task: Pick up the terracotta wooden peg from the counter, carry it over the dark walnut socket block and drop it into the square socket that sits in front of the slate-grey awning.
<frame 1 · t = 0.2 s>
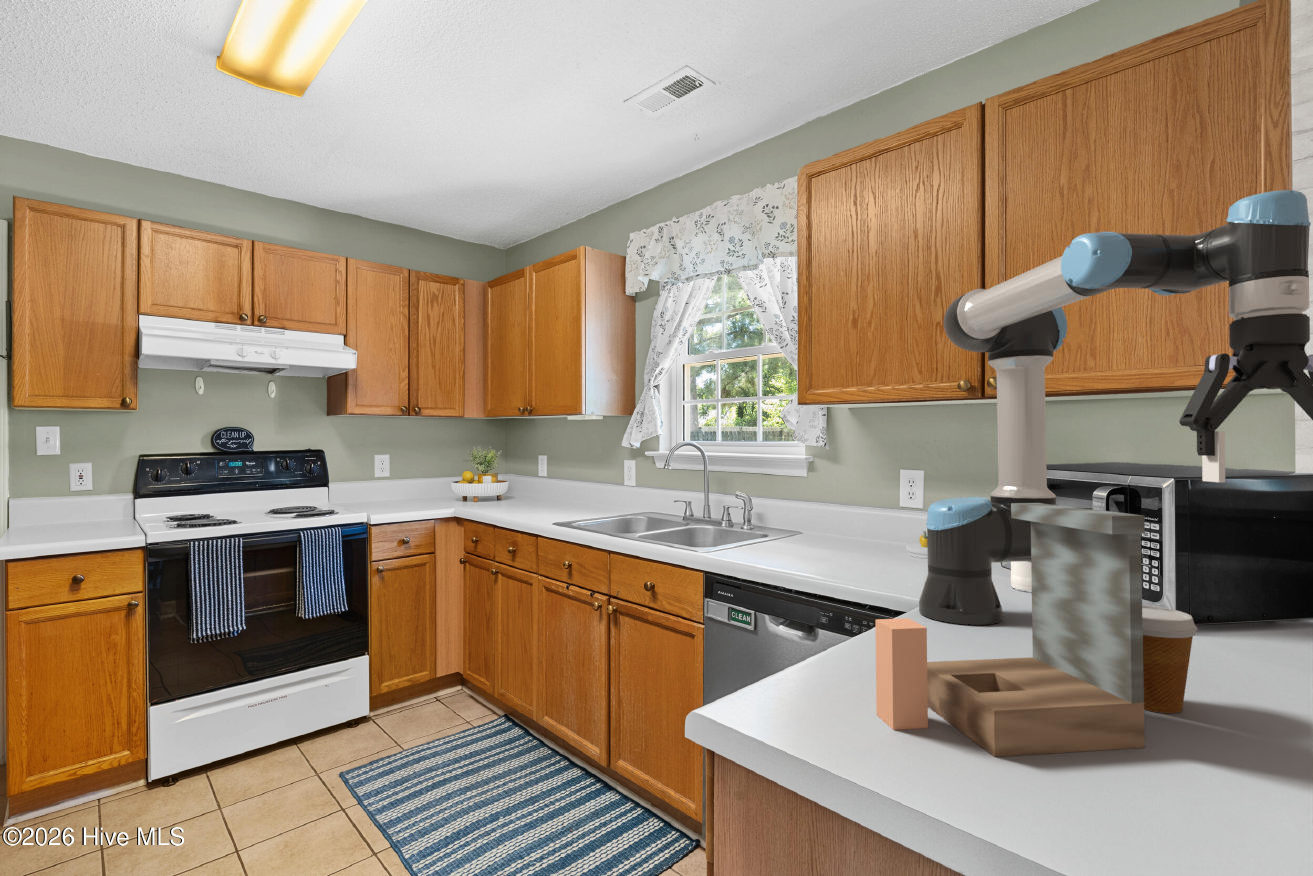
hand: (1269, 482, 83), 29 cm above the counter, tool pointing down, fingers open, 13 cm apart
disposable coffee cup: (1151, 705, 84), on the counter
socket stand: (1021, 721, 79), on the counter
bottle: (1029, 590, 153), on the counter
peg: (901, 721, 80), on the counter
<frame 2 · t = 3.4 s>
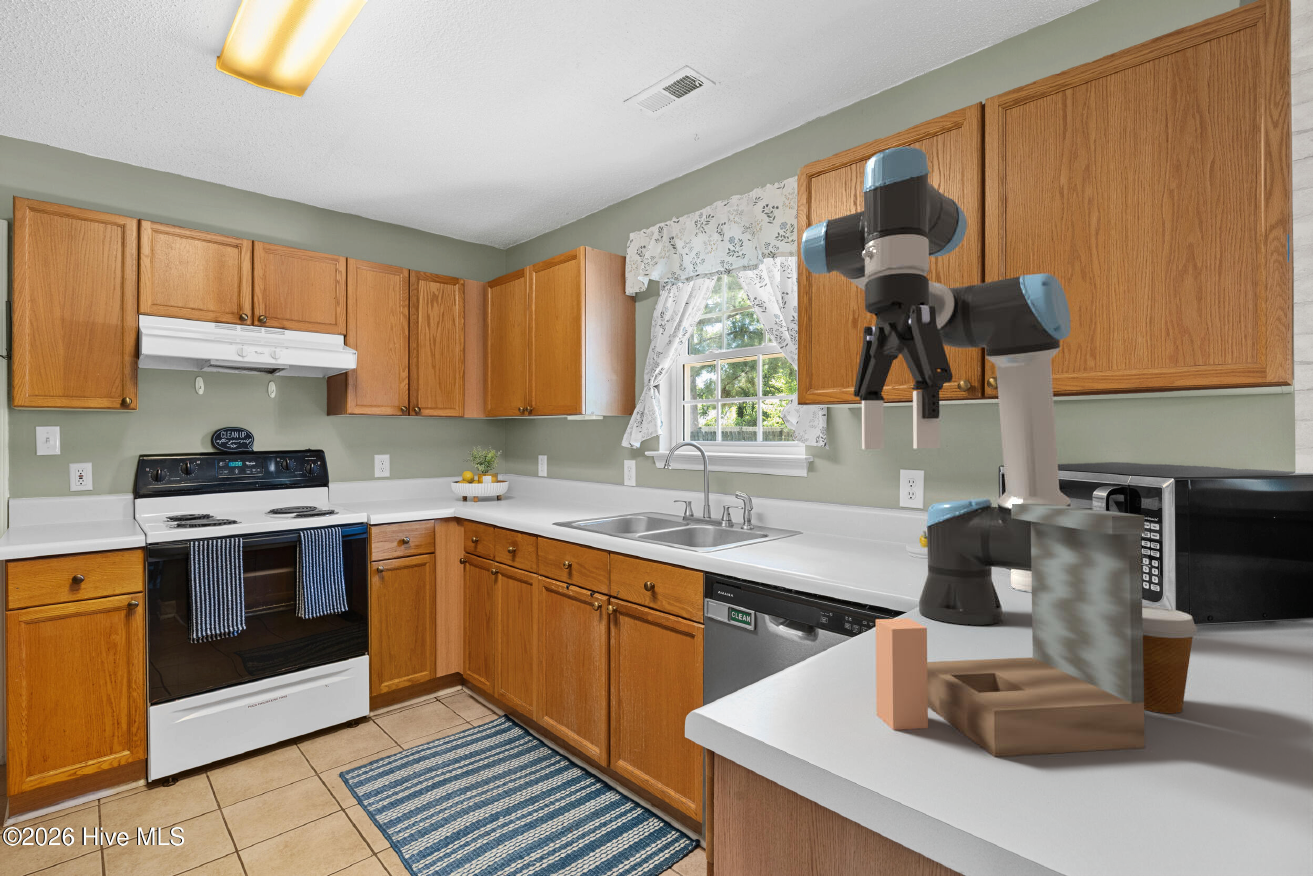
hand: (897, 449, 80), 34 cm above the counter, tool pointing down, fingers open, 13 cm apart
nothing on the counter moved.
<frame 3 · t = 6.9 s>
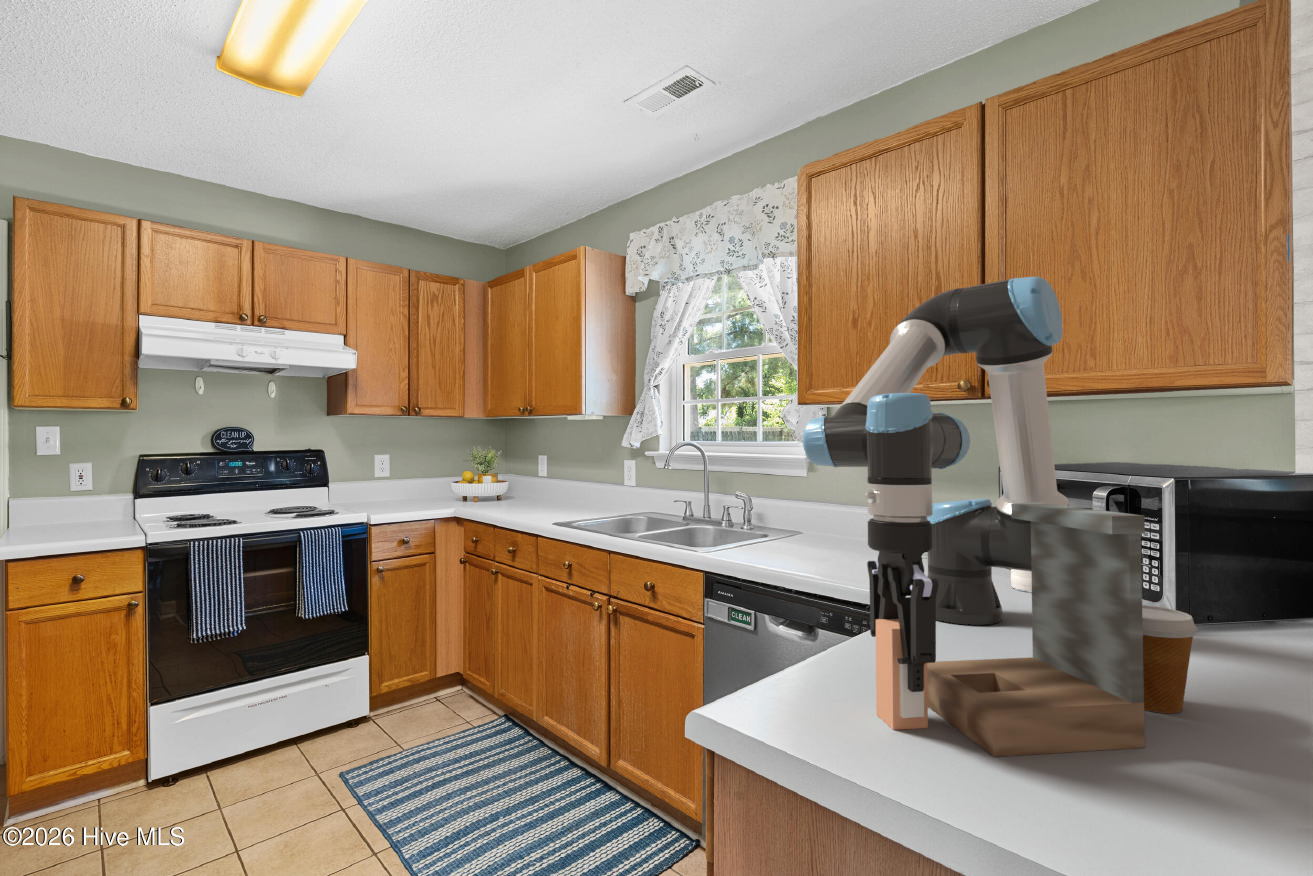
hand: (901, 707, 80), 2 cm above the counter, tool pointing down, fingers closed on peg, 4 cm apart
peg: (901, 721, 80), on the counter, touching gripper
everything else where it was.
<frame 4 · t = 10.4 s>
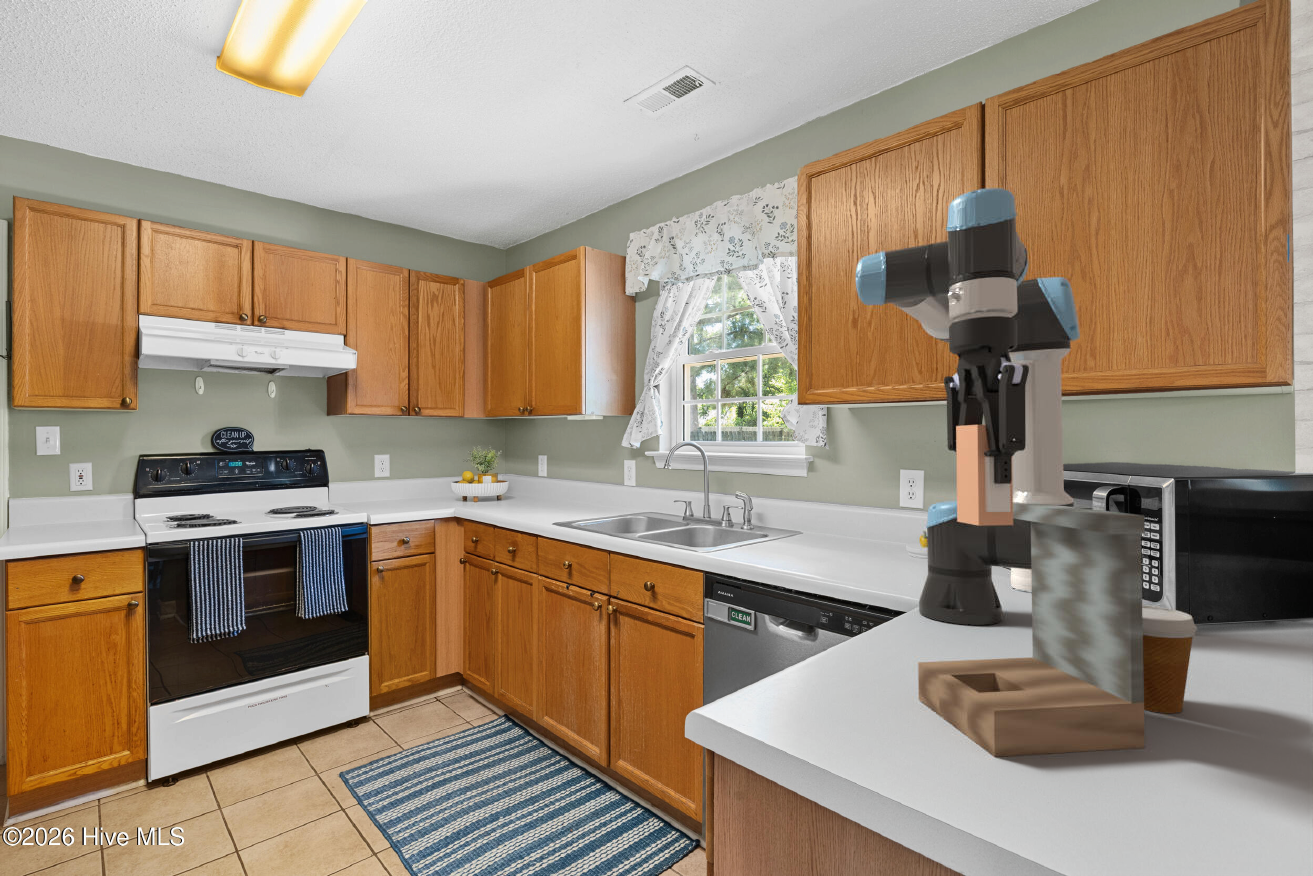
hand: (984, 509, 79), 26 cm above the counter, tool pointing down, fingers closed on peg, 4 cm apart
peg: (984, 523, 79), point 24 cm above the counter, touching gripper
everything else where it was.
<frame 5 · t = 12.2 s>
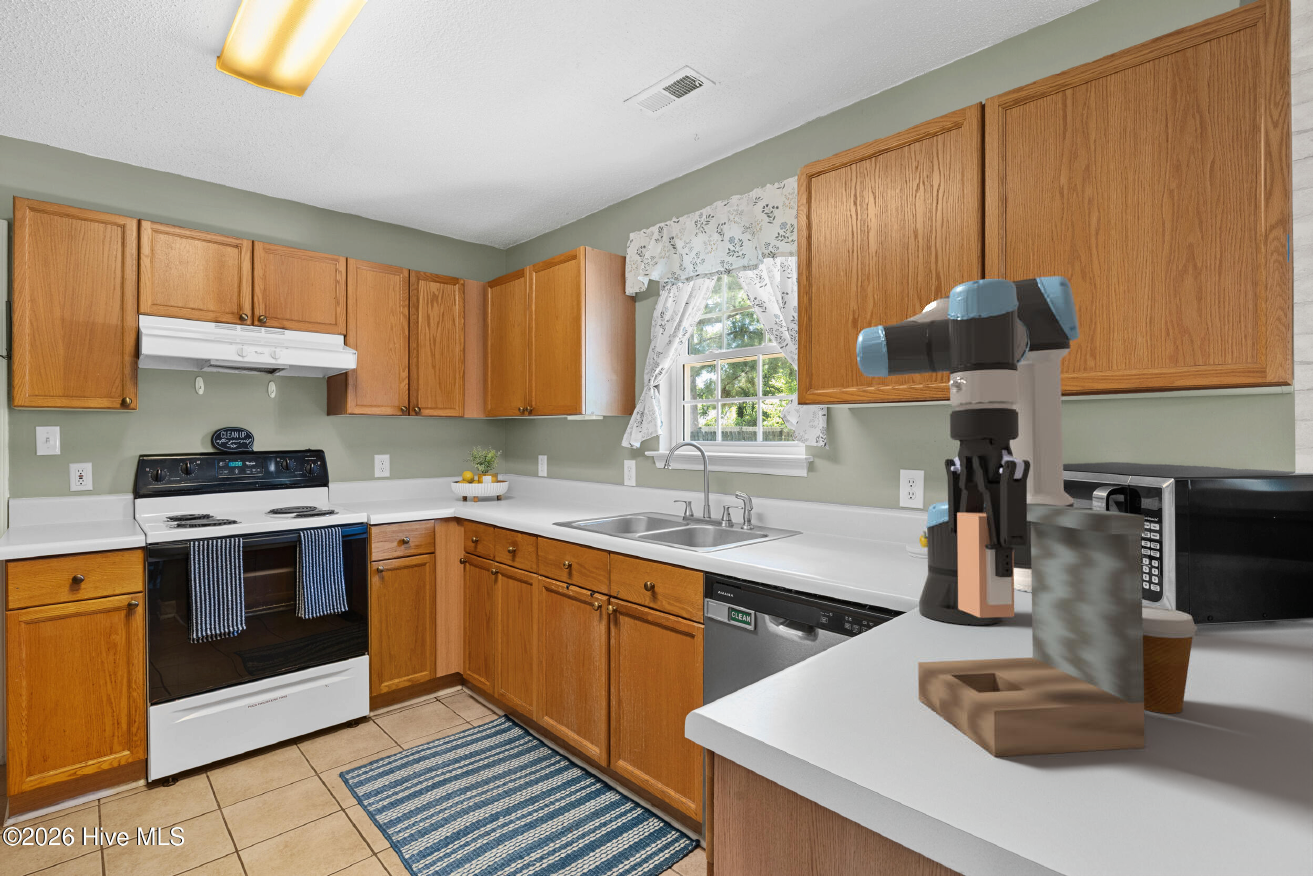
hand: (985, 598, 79), 15 cm above the counter, tool pointing down, fingers closed on peg, 4 cm apart
peg: (985, 612, 79), point 14 cm above the counter, touching gripper
everything else where it was.
when the fingers open (8 cm above the counter, at t = 13.9 s): peg drops 6 cm, resting in socket stand.
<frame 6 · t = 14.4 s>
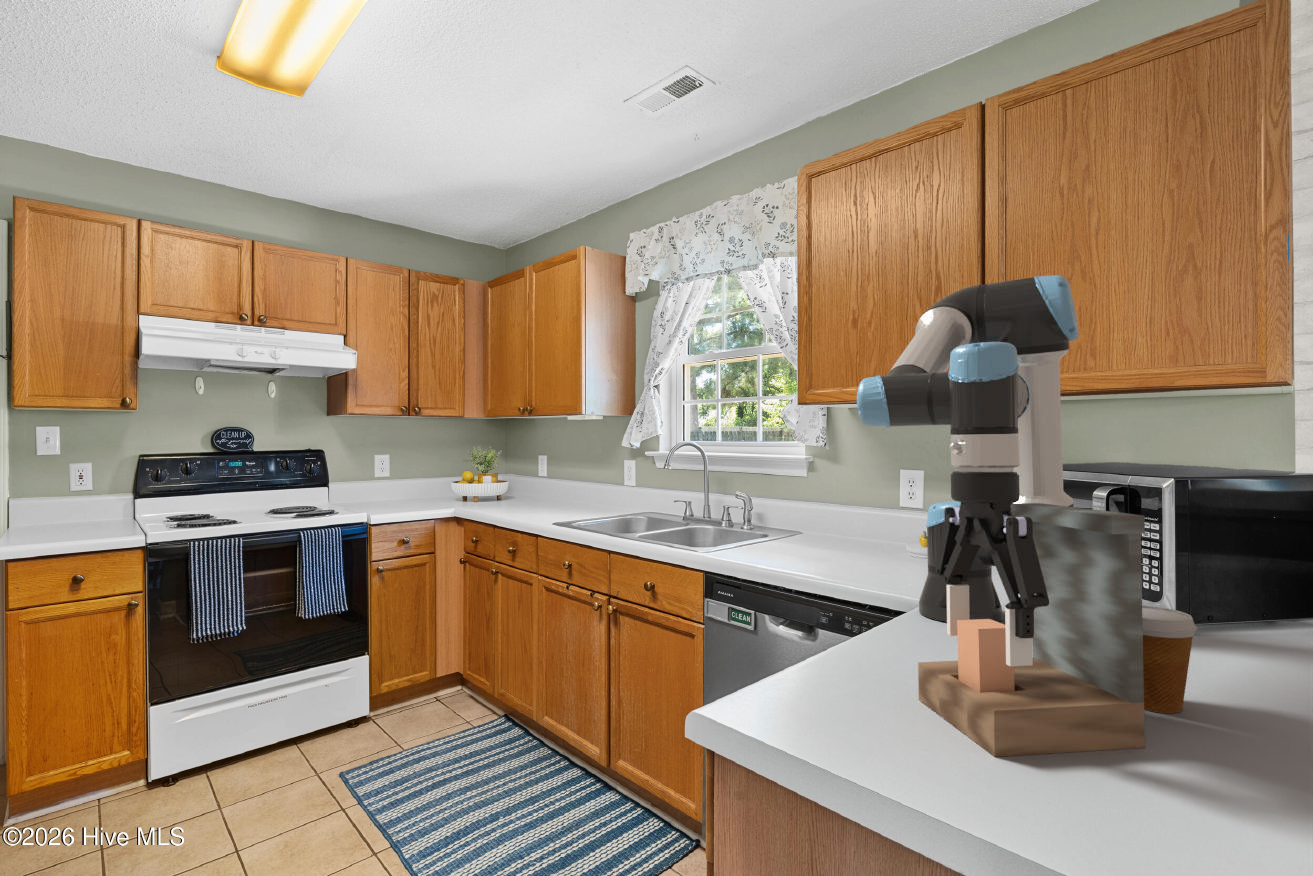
hand: (986, 648, 79), 9 cm above the counter, tool pointing down, fingers open, 11 cm apart
peg: (986, 723, 79), resting in socket stand
everything else where it was.
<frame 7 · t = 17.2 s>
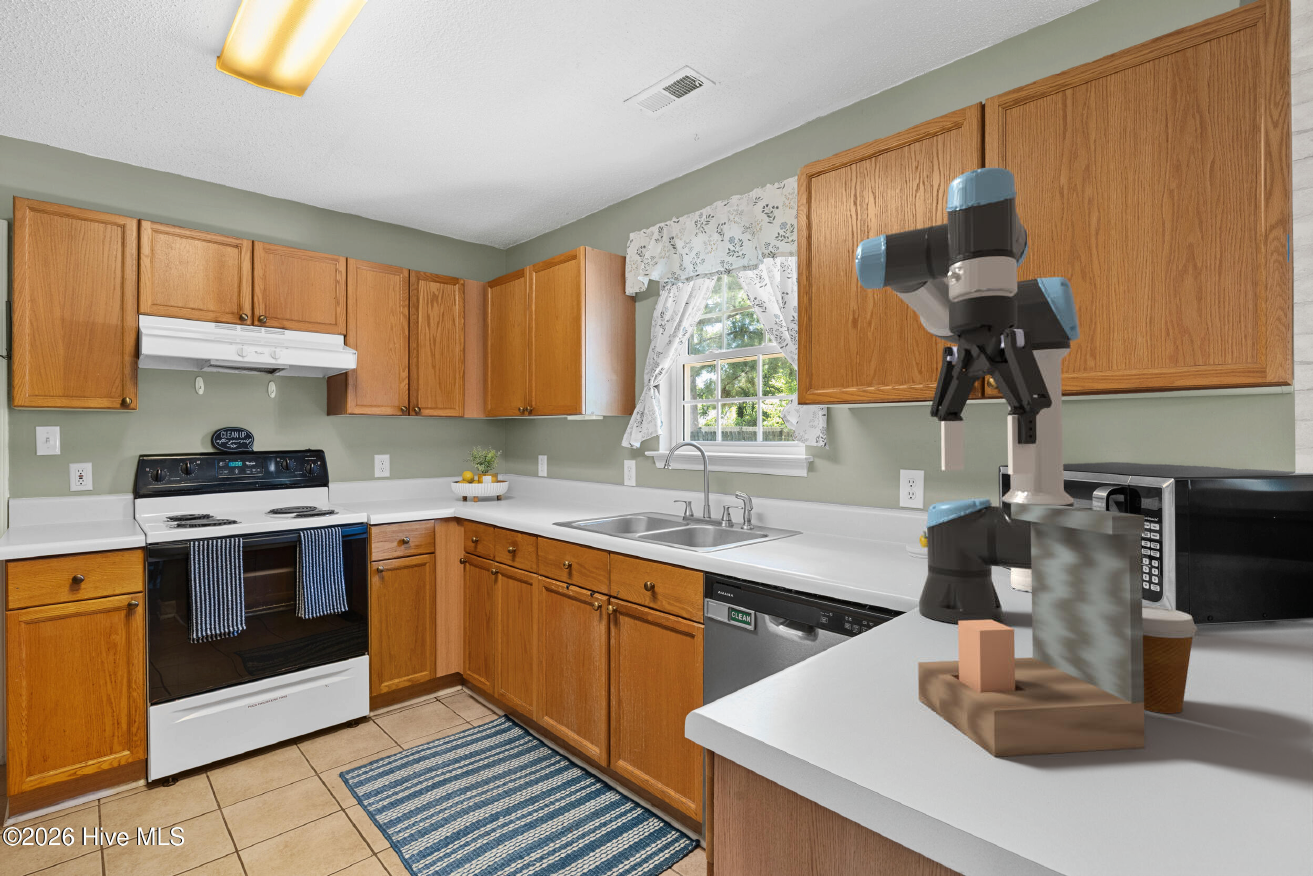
hand: (984, 472, 79), 31 cm above the counter, tool pointing down, fingers open, 13 cm apart
nothing on the counter moved.
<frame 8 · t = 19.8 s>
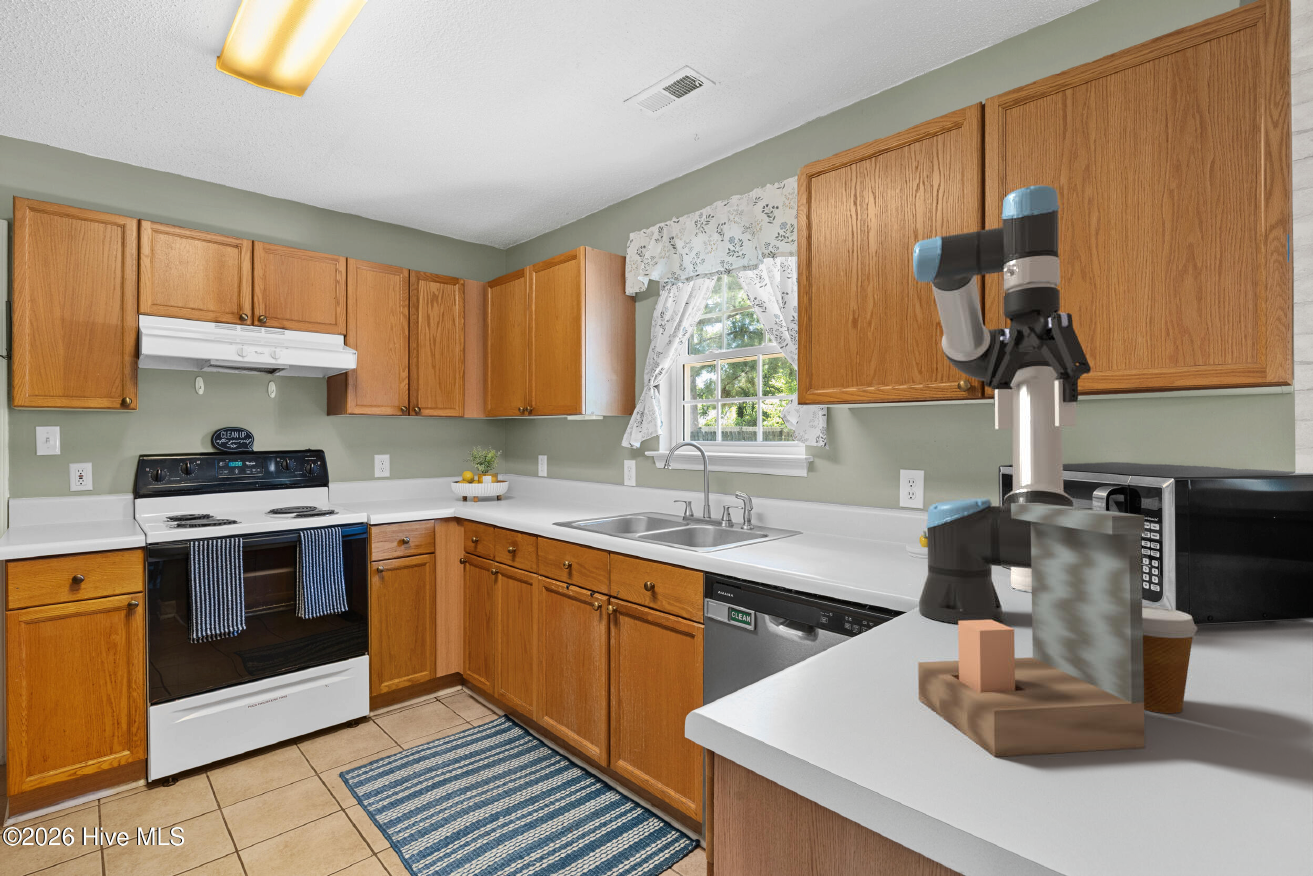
hand: (1033, 427, 99), 37 cm above the counter, tool pointing down, fingers open, 13 cm apart
nothing on the counter moved.
at the end: peg 0.1 cm from the target spot on the socket stand, point 0.0 cm above the socket stand's base; peg tilted 0°; the gripper is holding nothing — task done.
